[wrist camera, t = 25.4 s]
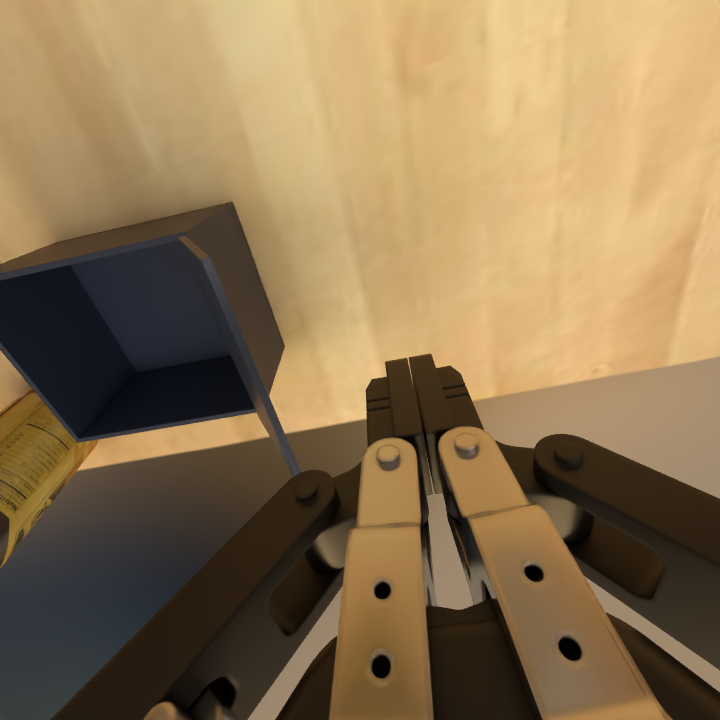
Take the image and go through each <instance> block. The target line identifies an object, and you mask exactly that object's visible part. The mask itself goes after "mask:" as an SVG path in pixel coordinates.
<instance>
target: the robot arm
mask: <svg viewBox="0 0 720 720" xmlns="http://www.w3.org/2000/svg"><path fill="white" fill-rule="evenodd" d="M409 362H410V369H411V374H410V369H409V365H408V360H407V358H403V359H397V360H392V361H386V362H385V364H386V373H387V377H383V378H377V379H372V380H371V382H370V384H369V385H368V387H367V389H366V402H367V403H366V408H367V436H368V438H367V439H368V448H367V449H366V451H365V452H364V454H363V457H362V461H361V462H360V463H359V464H358V465H357V466H356V467H355V468H353V469H351V470H350V471H348V472H346V473H343V474H341V475H339V476H336V477H334V478H332V477H331V476H330V475H329V474H328V473H326V472H324V471H320V470H309V471H305V472H302V473H299V474H298V475H296V476H294V477H293V478H292V479H290V480H289V481H288V482H287V483H286V484H285V485H284V486H283V487H282V488H281V489H280V490H279V491H278V492H277V493H276V494H275V495H274V496H273V497H272V498H271V499H270V500H269V501H268V502H267V503H266V504H265V505H264V506H263V507H262V508H261V509H260V510H259V511H258V512H257V513H256V514H255V515H254V516H253V517H252V518H251V519H250V520H249V521H248V522H247V523H246V524H245V525H244V526H243V527H242V528H241V529H240V530H239V531H238V532H237V533H236V534H235V535H234V536H233V537H232V538H231V539H230V540H229V541H228V542H227V543H226V544H225V545H224V546H223V547H222V548H221V549H220V550H219V551H218V552H217V553H216V554H215V555H214V556H213V557H212V558H211V559H210V560H209V561H208V562H207V563H206V564H205V565H204V566H203V567H202V568H201V569H200V570H199V571H198V572H197V573H196V574H195V575H194V576H193V577H192V578H191V579H190V580H189V581H188V582H187V583H186V584H185V585H184V586H183V587H182V588H181V589H180V590H179V591H178V592H177V593H176V595H174V596H173V597H172V598H171V599H170V600H169V601H168V603H166V604H165V605H164V607H162V608H161V609H160V610H159V611H158V612H157V613H156V614H155V615H154V617H152V619H150V621H148V623H147V624H146V625H145V626H144V627H143V628H141V630H139V631H138V632H137V633H136V635H134V636H133V638H132V639H130V640H129V641H128V643H126V644H125V646H123V647H122V649H121V650H120V651H119V652H118V653H117V654H116V655H115V656H114V657H113V658H112V659H111V660H110V661H109V662H108V663H107V664H106V665H105V666H104V667H103V668H102V669H101V670H100V671H99V672H98V673H97V674H96V675H95V676H94V677H93V678H92V679H91V680H90V681H89V682H88V683H87V684H86V685H85V686H84V687H83V688H82V689H81V690H80V691H79V692H78V693H77V694H76V695H75V696H74V697H73V698H72V699H71V700H70V701H69V702H68V703H67V704H66V705H65V706H64V707H63V708H62V709H61V710H60V711H59V712H58V713H57V714H56V715H55V716H54V717H53V718H52V719H51V720H247V719H248V718H249V717H250V715H251V714H252V712H253V711H254V710H255V708H256V707H257V705H258V704H259V703H260V701H261V700H262V698H263V697H264V695H265V694H266V693H267V691H268V690H269V688H270V687H271V686H272V684H273V683H274V681H275V680H276V679H277V677H278V676H279V674H280V673H281V672H282V670H283V669H284V667H285V666H286V664H287V663H288V662H289V660H290V659H291V657H292V656H293V654H294V653H295V652H296V650H297V649H298V648H299V646H300V645H301V643H302V642H303V641H304V639H305V638H306V636H307V635H308V633H309V632H310V631H311V629H312V628H313V626H314V625H315V624H316V622H317V621H318V619H319V618H320V617H321V615H322V614H323V612H324V611H325V609H326V608H327V607H328V605H329V604H330V602H331V601H332V600H333V598H334V597H335V595H336V594H337V593H338V591H339V590H340V588H341V587H342V586H343V587H342V596H341V606H340V617H339V626H338V635H337V636H336V637H335V638H334V639H332V640H331V641H330V642H329V643H328V644H327V645H326V646H325V647H324V648H323V649H322V650H321V651H320V653H319V654H318V655H317V656H316V658H315V659H314V660H313V661H312V663H311V664H310V666H309V667H308V669H307V670H306V672H305V673H304V675H303V677H302V678H301V680H300V681H299V683H298V685H297V686H296V688H295V689H294V691H293V692H292V694H291V696H290V697H289V699H288V701H287V702H286V704H285V705H284V707H283V708H282V710H281V712H280V713H279V715H278V716H277V718H276V719H275V720H720V692H718V691H717V690H716V689H714V688H713V687H712V686H710V685H709V684H708V683H707V682H705V681H704V680H703V679H701V678H700V677H699V676H697V675H696V674H695V673H693V672H692V671H691V670H689V669H688V668H687V667H685V666H684V665H683V664H681V663H680V662H679V661H678V660H676V659H675V658H674V657H672V656H671V655H670V654H668V653H667V652H666V651H664V650H663V649H662V648H661V647H659V646H658V645H656V644H655V643H654V642H653V641H651V640H650V639H649V638H647V637H646V636H645V635H643V634H642V633H640V632H639V631H638V630H636V629H635V628H633V627H631V626H630V625H628V624H627V623H625V622H623V621H622V620H620V619H618V618H616V617H614V616H612V615H610V614H608V613H606V612H605V611H604V609H603V608H602V606H601V604H600V602H599V601H598V599H597V598H596V596H595V594H594V592H593V591H592V589H591V587H590V586H589V584H588V582H587V580H586V579H585V577H587V578H588V579H590V580H591V581H592V582H594V583H595V584H597V585H598V586H600V587H601V588H603V589H604V590H605V591H607V592H608V593H610V594H611V595H613V596H614V597H616V598H617V599H618V600H620V601H621V602H623V603H624V604H626V605H627V606H628V607H630V608H631V609H633V610H634V611H636V612H637V613H639V614H640V615H642V616H643V617H645V618H646V619H647V620H648V621H650V622H651V623H653V624H654V625H656V626H657V627H659V628H660V629H661V630H663V631H664V632H666V633H667V634H669V635H670V636H671V637H673V638H674V639H676V640H677V641H679V642H680V643H682V644H683V645H684V646H686V647H687V648H689V649H690V650H692V651H693V652H695V653H696V654H697V655H699V656H700V657H702V658H703V659H705V660H706V661H708V662H709V663H711V664H712V665H713V666H715V667H716V668H718V669H719V670H720V499H719V498H717V497H714V496H712V495H710V494H708V493H705V492H703V491H701V490H699V489H696V488H693V487H692V486H689V485H687V484H685V483H682V482H680V481H678V480H676V479H674V478H671V477H669V476H667V475H665V474H662V473H660V472H658V471H656V470H653V469H651V468H649V467H647V466H644V465H642V464H640V463H637V462H635V461H633V460H631V459H628V458H626V457H624V456H622V455H619V454H617V453H614V452H612V451H610V450H608V449H605V448H603V447H601V446H599V445H597V444H594V443H592V442H590V441H588V440H585V439H583V438H580V437H577V436H573V435H568V434H555V435H550V436H547V437H545V438H543V439H541V440H540V441H539V442H538V443H537V444H536V446H535V449H533V448H523V447H514V446H509V445H505V444H502V443H500V442H498V441H495V440H494V439H493V437H492V436H491V435H490V434H489V433H487V432H486V431H485V430H484V428H483V426H482V424H481V421H480V419H479V417H478V414H477V412H476V409H475V407H474V405H473V402H472V400H471V397H470V395H469V393H468V390H467V388H466V386H465V383H464V381H463V378H462V376H461V374H460V373H459V372H458V371H456V370H455V369H454V368H453V367H451V366H446V367H440V368H436V367H435V364H434V361H433V358H432V355H431V354H425V355H420V356H414V357H409ZM411 375H412V379H411ZM412 381H413V384H412ZM413 387H414V388H413ZM425 448H426V449H425ZM426 453H427V455H426ZM427 458H428V461H427ZM428 463H429V467H430V472H431V476H432V481H433V486H434V491H435V494H438V493H443V495H444V499H445V504H446V510H447V517H448V522H449V525H450V528H451V531H452V534H453V537H454V540H455V544H456V547H457V550H458V553H459V556H460V559H461V562H462V566H463V568H464V572H465V575H466V578H467V581H468V584H469V588H470V592H471V595H472V600H473V606H471V607H468V608H466V609H463V610H454V609H449V608H443V607H437V604H436V597H435V588H434V577H433V567H432V556H431V546H430V536H429V535H430V534H429V524H428V515H429V510H428V503H427V498H426V495H431V494H433V493H432V487H431V480H430V474H429V468H428ZM584 576H585V577H584Z"/></svg>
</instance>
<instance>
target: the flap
mask: <svg viewBox="0 0 720 720" xmlns="http://www.w3.org/2000/svg"><path fill="white" fill-rule="evenodd" d="M178 240H179V242H180V244H181V247H182V249H183V251H184V253H185V255H186V258H187V260H188V262H189V264H190V266H191V269H192V271H193V273H194V275H195V277H196V280H197V282H198V284H199V286H200V288H201V291H202V293H203V295H204V297H205V299H206V302H207V304H208V306H209V308H210V310H211V313H212V315H213V317H214V319H215V321H216V324H217V326H218V328H219V330H220V333H221V335H222V337H223V339H224V341H225V344H226V346H227V348H228V350H229V352H230V355H231V357H232V359H233V361H234V363H235V366H236V368H237V370H238V372H239V374H240V377H241V379H242V381H243V383H244V385H245V388H246V390H247V392H248V394H249V396H250V399H251V401H252V403H253V405H254V407H255V410H256V412H257V414H258V416H259V419H260V420H261V422H262V424H263V425H264V427H265V429H266V430H267V432H268V434H269V436H270V437H271V439H272V441H273V442H274V444H275V446H276V447H277V449H278V451H279V453H280V454H281V456H282V458H283V459H284V461H285V463H286V464H287V466H288V468H289V470H290V471H291V473H292V475H293V476H296V475H298V474H299V473H301V472H300V469H299V467H298V465H297V462H296V460H295V457H294V455H293V453H292V450H291V448H290V446H289V443H288V441H287V438H286V436H285V434H284V431H283V429H282V426H281V424H280V422H279V419H278V417H277V414H276V412H275V410H274V407H273V405H272V403H271V400H270V398H269V395H268V393H267V391H266V388H265V386H264V383H263V381H262V379H261V376H260V374H259V372H258V369H257V367H256V364H255V362H254V360H253V357H252V355H251V352H250V350H249V348H248V345H247V343H246V341H245V338H244V336H243V333H242V331H241V329H240V326H239V324H238V321H237V319H236V317H235V314H234V312H233V309H232V307H231V305H230V302H229V300H228V298H227V295H226V293H225V290H224V288H223V286H222V283H221V281H220V278H219V276H218V274H217V271H216V269H215V267H214V264H213V262H212V259H211V257H210V256H208V255H207V254H206V253H205V252H204V251H202V250H201V249H200V248H199V247H198V246H196V245H195V244H194V243H193V242H192V241H190V240H189V239H188V238H187V237H186V236H181V237H178Z"/></svg>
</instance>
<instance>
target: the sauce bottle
mask: <svg viewBox="0 0 720 720" xmlns="http://www.w3.org/2000/svg"><path fill="white" fill-rule="evenodd" d="M98 440H99V439H98ZM98 440H92V441H86V442H80V443H77V442H76V441H75V440H74V439H73V438H72V436H71V435H70V434H69V433H68V431H67V430H66V429H65V428H64V427H63V425H62V424H61V423H60V422H59V421H58V419H57V418H56V417H55V416H54V414H53V413H52V412H51V411H50V410H49V408H48V407H47V406H46V405H45V404H44V402H43V401H42V400H41V399H40V397H39V396H38V395H37V394H36V393H35V391H34V390H33V389H31V390H30V391H28V392H27V393H26V394H25V395H24V396H23V397H20V398H18V399H16V400H15V401H13V402H12V403H11V404H10V405H8V406H7V407H6V408H5V409H4V410H2V411H1V412H0V568H1V567H2V565H3V564H4V563H5V562H6V560H7V559H8V558H9V556H10V555H11V554H12V553H13V551H14V550H15V548H16V547H17V546H18V544H19V543H20V542H21V541H22V539H23V538H24V537H25V536H26V534H27V533H28V532H29V530H30V529H31V528H32V526H33V525H34V524H35V523H36V521H37V520H38V519H39V518H40V516H41V515H42V514H43V512H44V511H45V510H46V509H47V507H48V506H49V505H50V503H51V502H52V501H53V500H54V499H55V498H56V496H57V495H58V494H59V492H60V491H61V490H62V488H63V487H64V486H65V484H66V483H67V482H68V481H69V479H70V478H71V477H72V476H73V474H74V473H75V472H76V471H77V469H78V468H79V467H80V465H81V464H82V463H83V462H84V460H85V459H86V458H87V456H88V455H89V454H90V453H91V451H92V450H93V449H94V447H95V446H96V444H97V442H98Z"/></svg>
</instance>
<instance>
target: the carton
mask: <svg viewBox="0 0 720 720" xmlns="http://www.w3.org/2000/svg"><path fill="white" fill-rule="evenodd" d="M181 236H186V237H187V238H188V239H189V240H190V241H192V242H193V243H194V244H195V245H196V246H198V247H199V248H200V249H201V250H202V251H204V252H205V253H206V254H207V255H208V256H210V257H211V259H212V262H213V264H214V267H215V269H216V271H217V274H218V276H219V278H220V281H221V283H222V286H223V288H224V290H225V293H226V295H227V298H228V300H229V302H230V305H231V307H232V309H233V312H234V314H235V317H236V319H237V321H238V324H239V326H240V329H241V331H242V333H243V336H244V338H245V341H246V343H247V345H248V348H249V350H250V352H251V355H252V357H253V360H254V362H255V364H256V367H257V369H258V372H259V374H260V376H261V379H262V381H263V383H264V386H265V388H266V391H267V393H268V395H269V394H270V391H271V388H272V385H273V381H274V378H275V375H276V372H277V369H278V366H279V363H280V360H281V356H282V353H283V350H284V347H285V346H284V343H283V340H282V337H281V334H280V332H279V329H278V326H277V323H276V321H275V318H274V315H273V312H272V309H271V307H270V304H269V301H268V298H267V296H266V293H265V290H264V287H263V284H262V282H261V279H260V276H259V273H258V271H257V268H256V265H255V262H254V259H253V257H252V254H251V251H250V248H249V246H248V243H247V240H246V237H245V234H244V232H243V229H242V226H241V223H240V221H239V218H238V215H237V212H236V209H235V207H234V204H233V202H230V203H225V204H221V205H217V206H212V207H208V208H204V209H199V210H195V211H191V212H186V213H182V214H178V215H173V216H169V217H165V218H160V219H156V220H152V221H147V222H143V223H139V224H134V225H130V226H126V227H121V228H117V229H113V230H108V231H104V232H99V233H95V234H91V235H86V236H82V237H78V238H73V239H69V240H65V241H60V242H56V243H53V244H51V245H48V246H46V247H43V248H41V249H38V250H36V251H33V252H30V253H28V254H25V255H23V256H20V257H18V258H15V259H13V260H10V261H8V262H5V263H3V264H0V350H1V351H2V353H3V354H4V355H5V356H6V357H7V359H8V360H9V361H10V362H11V363H12V365H13V366H14V367H15V368H16V370H17V371H18V372H19V373H20V374H21V376H22V377H23V378H24V379H25V380H26V382H27V383H28V384H29V385H30V387H31V388H32V389H33V390H34V391H35V393H36V394H37V395H38V396H39V397H40V399H41V400H42V401H43V402H44V404H45V405H46V406H47V407H48V408H49V410H50V411H51V412H52V413H53V414H54V416H55V417H56V418H57V419H58V421H59V422H60V423H61V424H62V425H63V427H64V428H65V429H66V430H67V431H68V433H69V434H70V435H71V436H72V438H73V439H74V440H75V441H76V442H77V443H80V442H86V441H92V440H98V439H103V438H109V437H115V436H121V435H127V434H133V433H139V432H144V431H150V430H156V429H162V428H168V427H174V426H179V425H185V424H191V423H197V422H203V421H209V420H215V419H220V418H226V417H232V416H238V415H244V414H250V413H256V410H255V407H254V405H253V403H252V401H251V399H250V396H249V394H248V392H247V390H246V388H245V385H244V383H243V381H242V379H241V377H240V374H239V372H238V370H237V368H236V366H235V363H234V361H233V359H232V357H231V355H230V352H229V350H228V348H227V346H226V344H225V341H224V339H223V337H222V335H221V333H220V330H219V328H218V326H217V324H216V321H215V319H214V317H213V315H212V313H211V310H210V308H209V306H208V304H207V302H206V299H205V297H204V295H203V293H202V291H201V288H200V286H199V284H198V282H197V280H196V277H195V275H194V273H193V271H192V269H191V266H190V264H189V262H188V260H187V258H186V255H185V253H184V251H183V249H182V247H181V244H180V242H179V240H178V237H181Z"/></svg>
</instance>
